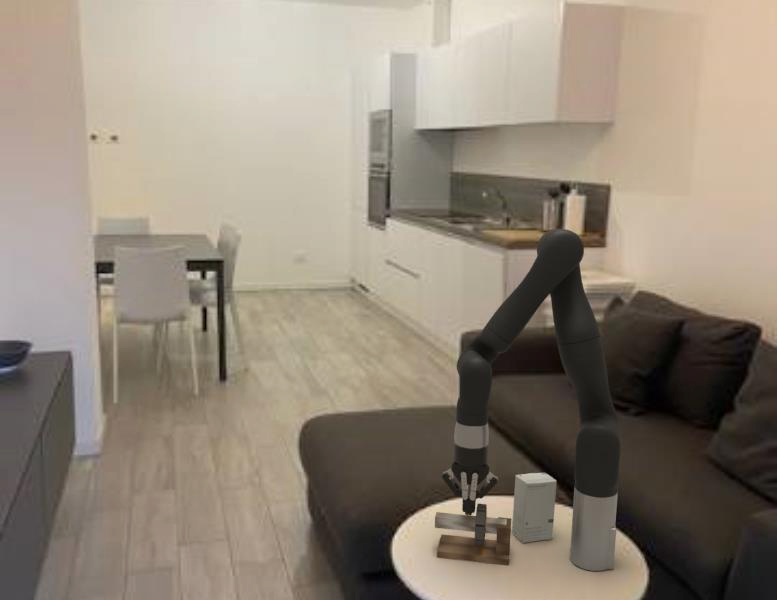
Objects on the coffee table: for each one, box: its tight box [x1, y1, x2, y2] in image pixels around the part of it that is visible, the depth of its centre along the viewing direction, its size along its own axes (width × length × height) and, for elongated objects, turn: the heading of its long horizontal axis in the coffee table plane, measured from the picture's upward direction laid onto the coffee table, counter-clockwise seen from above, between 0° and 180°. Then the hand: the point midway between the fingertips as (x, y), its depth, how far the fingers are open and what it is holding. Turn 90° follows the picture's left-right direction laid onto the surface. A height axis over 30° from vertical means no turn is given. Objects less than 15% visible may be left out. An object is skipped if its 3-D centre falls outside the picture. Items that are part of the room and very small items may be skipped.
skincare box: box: [511, 472, 557, 544], centre depth 183 cm, size 8×6×15 cm
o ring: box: [474, 502, 488, 546], centre depth 174 cm, size 2×9×9 cm, turn 169°
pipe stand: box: [434, 511, 512, 566], centre depth 175 cm, size 17×8×8 cm, turn 79°
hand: (468, 513), depth 174 cm, fingers closed
